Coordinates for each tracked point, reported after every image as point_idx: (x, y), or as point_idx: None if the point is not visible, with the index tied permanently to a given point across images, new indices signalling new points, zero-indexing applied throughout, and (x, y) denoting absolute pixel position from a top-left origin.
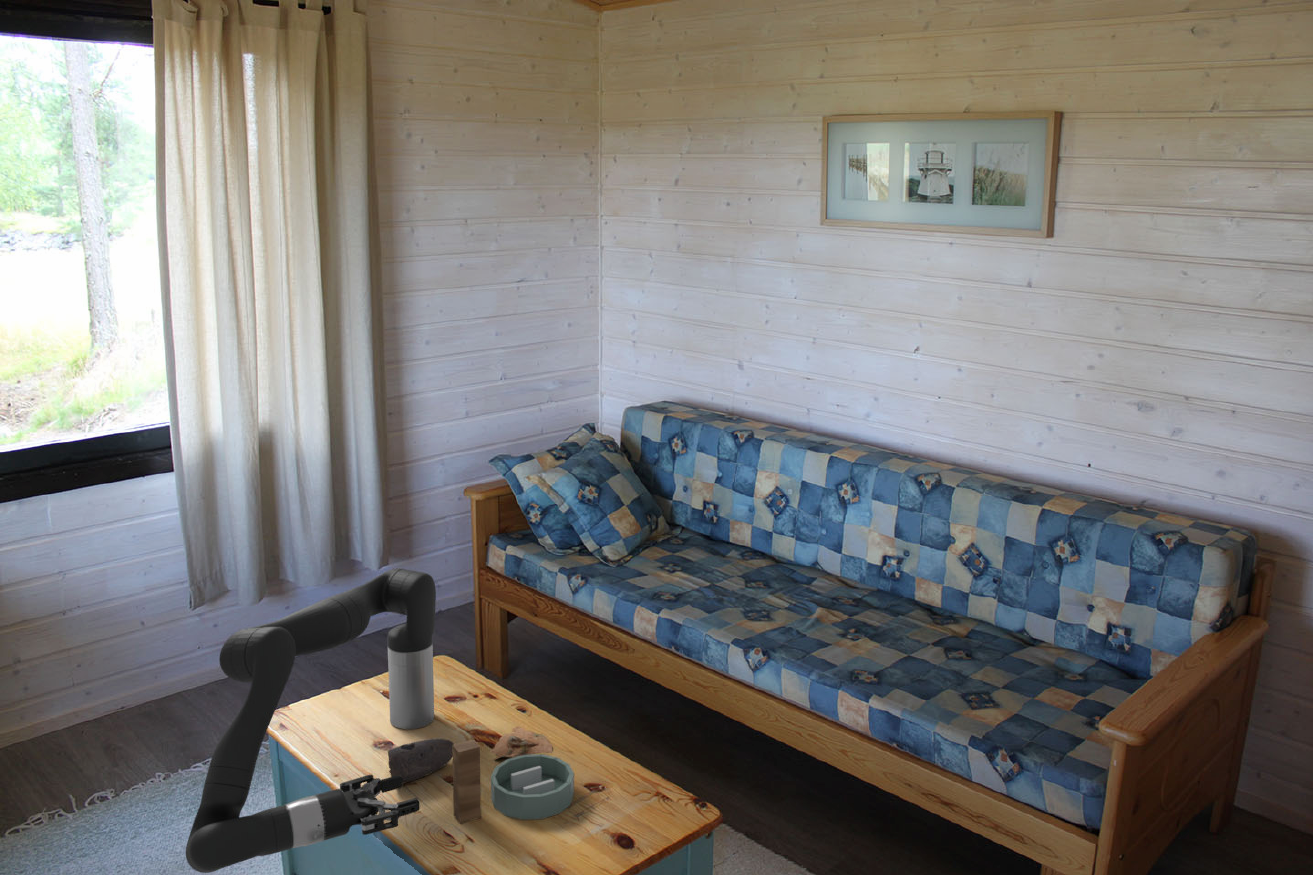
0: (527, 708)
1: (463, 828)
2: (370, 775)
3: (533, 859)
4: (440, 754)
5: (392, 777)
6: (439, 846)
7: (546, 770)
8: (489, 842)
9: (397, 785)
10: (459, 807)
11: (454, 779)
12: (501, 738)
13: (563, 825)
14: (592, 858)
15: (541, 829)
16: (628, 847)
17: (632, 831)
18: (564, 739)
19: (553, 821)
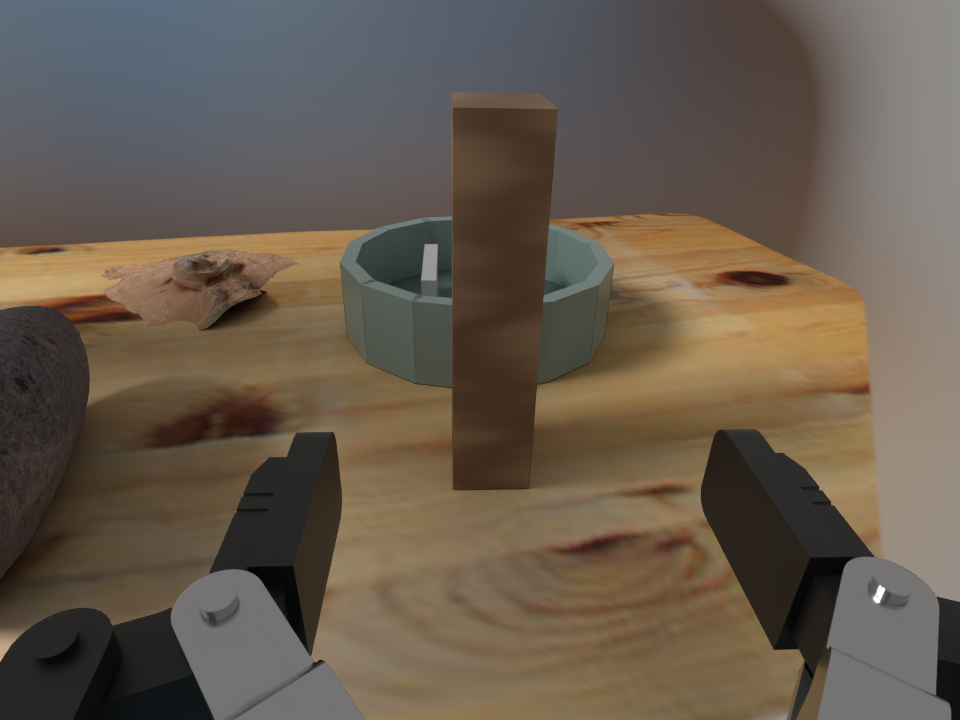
0: (54, 245)
1: (572, 489)
2: (61, 633)
3: (833, 396)
4: (74, 363)
5: (295, 478)
6: (696, 605)
7: (407, 266)
8: (704, 452)
9: (333, 515)
10: (530, 423)
11: (474, 315)
12: (117, 297)
13: (655, 319)
14: (831, 321)
15: (660, 349)
16: (784, 280)
17: (717, 265)
18: (266, 243)
19: (627, 326)
